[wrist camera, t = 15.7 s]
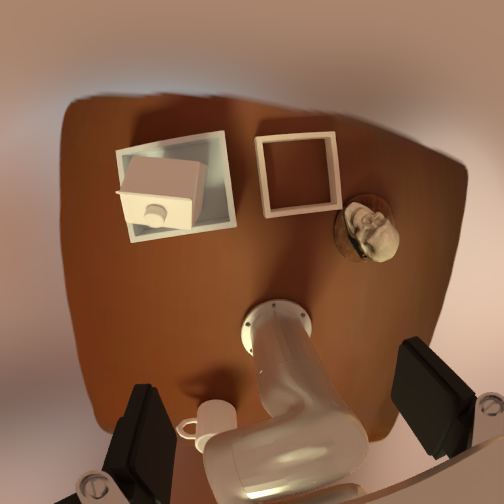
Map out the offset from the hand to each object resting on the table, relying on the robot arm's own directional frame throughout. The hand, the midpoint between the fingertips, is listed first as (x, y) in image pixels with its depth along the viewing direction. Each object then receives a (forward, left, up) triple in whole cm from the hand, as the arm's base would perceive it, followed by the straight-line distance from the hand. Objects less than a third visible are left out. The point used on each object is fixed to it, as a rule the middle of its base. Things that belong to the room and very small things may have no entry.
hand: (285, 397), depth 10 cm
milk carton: (+7, +8, -38) cm, 39 cm away
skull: (-4, -21, -39) cm, 44 cm away
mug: (-38, +12, -38) cm, 55 cm away
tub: (+7, +8, -38) cm, 40 cm away
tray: (+7, -10, -38) cm, 40 cm away
